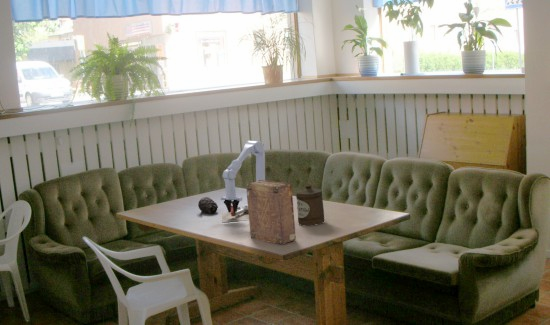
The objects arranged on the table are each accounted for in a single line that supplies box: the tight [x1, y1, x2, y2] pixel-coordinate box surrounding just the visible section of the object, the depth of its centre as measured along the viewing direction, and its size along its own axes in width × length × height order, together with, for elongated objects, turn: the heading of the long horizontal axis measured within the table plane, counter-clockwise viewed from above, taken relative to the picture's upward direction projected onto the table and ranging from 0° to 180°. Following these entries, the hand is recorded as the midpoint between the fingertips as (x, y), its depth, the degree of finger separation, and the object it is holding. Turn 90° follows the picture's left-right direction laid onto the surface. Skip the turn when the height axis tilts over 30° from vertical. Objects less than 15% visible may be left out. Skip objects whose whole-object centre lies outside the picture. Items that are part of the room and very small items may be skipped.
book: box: [245, 179, 297, 245], centre depth 375 cm, size 25×9×30 cm, turn 42°
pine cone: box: [198, 196, 219, 215], centre depth 452 cm, size 10×18×10 cm, turn 33°
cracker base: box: [221, 206, 249, 223], centre depth 436 cm, size 20×24×4 cm
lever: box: [230, 204, 248, 216], centre depth 436 cm, size 18×4×6 cm, turn 150°
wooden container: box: [295, 183, 326, 226], centre depth 405 cm, size 15×15×22 cm
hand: (232, 212), depth 430 cm, fingers open, 3 cm apart
